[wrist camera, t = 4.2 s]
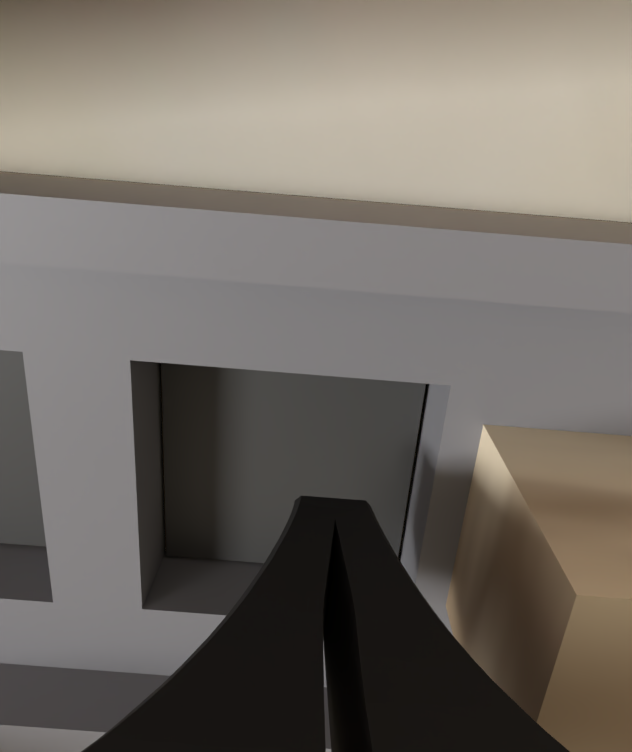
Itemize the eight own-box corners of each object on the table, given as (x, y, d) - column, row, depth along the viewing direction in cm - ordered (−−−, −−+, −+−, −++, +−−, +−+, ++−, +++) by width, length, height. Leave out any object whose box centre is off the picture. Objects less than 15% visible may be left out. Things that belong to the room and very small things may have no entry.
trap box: (916, 694, 16) (1065, 833, 13) (-232, 608, 16) (-376, 728, 13) (1195, 268, 12) (1530, 317, 8) (-403, 138, 11) (-696, 136, 8)
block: (647, 621, 13) (802, 852, 9) (445, 605, 13) (501, 831, 9) (715, 442, 11) (948, 623, 7) (483, 424, 11) (577, 595, 7)
